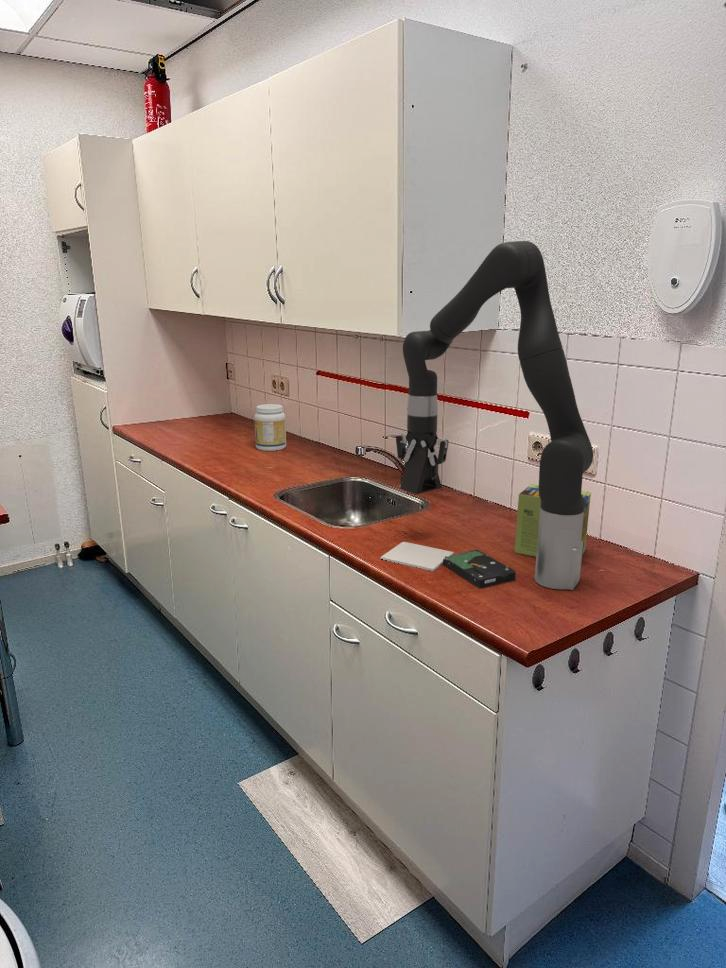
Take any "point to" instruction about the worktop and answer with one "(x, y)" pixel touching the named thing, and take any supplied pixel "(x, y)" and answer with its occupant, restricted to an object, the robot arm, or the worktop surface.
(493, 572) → the disk drive
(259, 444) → the supplement tub
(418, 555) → the grey mat
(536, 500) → the protein box
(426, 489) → the phone stand
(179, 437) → the worktop surface
